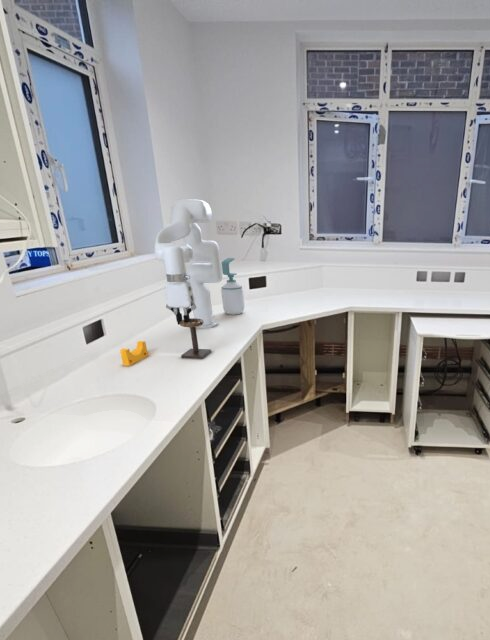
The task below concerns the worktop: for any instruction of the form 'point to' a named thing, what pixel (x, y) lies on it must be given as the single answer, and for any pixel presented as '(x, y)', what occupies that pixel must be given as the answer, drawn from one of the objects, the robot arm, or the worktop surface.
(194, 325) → the ring
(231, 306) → the soap bottle
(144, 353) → the pipe clamp
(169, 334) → the worktop surface
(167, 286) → the robot arm
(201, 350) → the post
